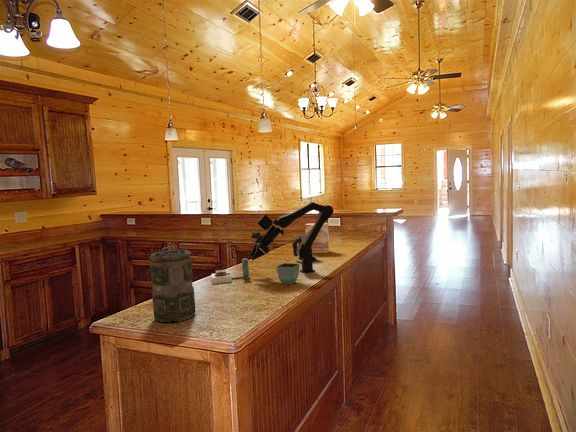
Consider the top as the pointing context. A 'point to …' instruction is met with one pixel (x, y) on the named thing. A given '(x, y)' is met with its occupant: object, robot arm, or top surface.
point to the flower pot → (288, 273)
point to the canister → (172, 285)
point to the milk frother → (300, 239)
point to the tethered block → (244, 267)
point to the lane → (221, 278)
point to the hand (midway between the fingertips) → (251, 258)
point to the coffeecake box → (319, 239)
